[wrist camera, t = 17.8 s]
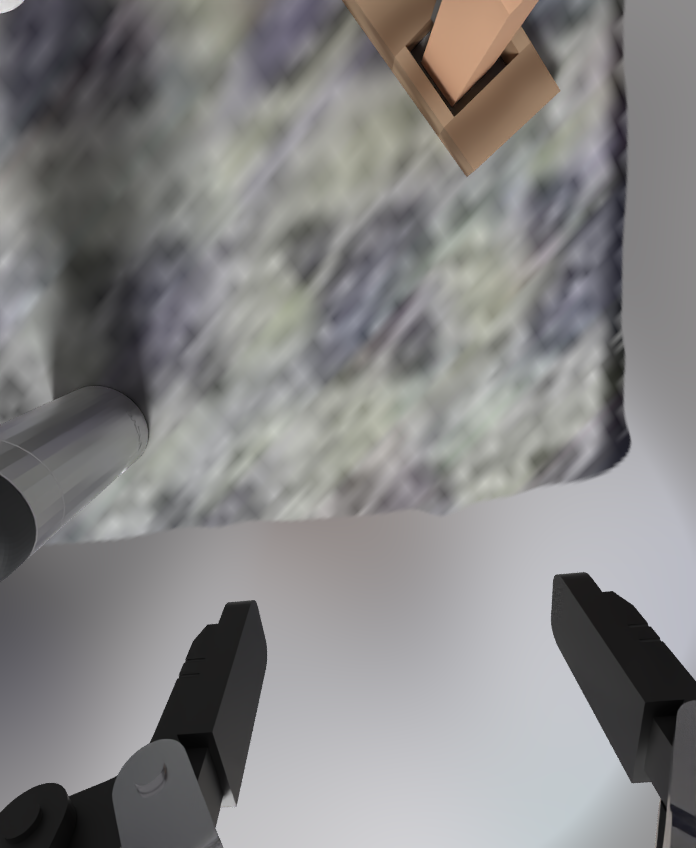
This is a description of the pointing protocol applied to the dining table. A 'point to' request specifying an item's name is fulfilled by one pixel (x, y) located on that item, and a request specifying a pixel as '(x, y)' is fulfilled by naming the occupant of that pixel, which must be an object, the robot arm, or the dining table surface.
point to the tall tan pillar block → (469, 40)
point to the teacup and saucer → (9, 5)
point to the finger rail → (488, 111)
